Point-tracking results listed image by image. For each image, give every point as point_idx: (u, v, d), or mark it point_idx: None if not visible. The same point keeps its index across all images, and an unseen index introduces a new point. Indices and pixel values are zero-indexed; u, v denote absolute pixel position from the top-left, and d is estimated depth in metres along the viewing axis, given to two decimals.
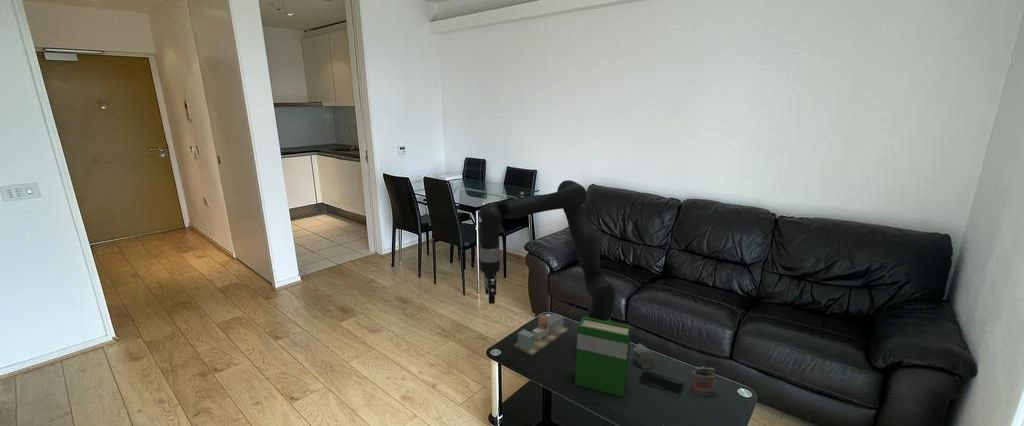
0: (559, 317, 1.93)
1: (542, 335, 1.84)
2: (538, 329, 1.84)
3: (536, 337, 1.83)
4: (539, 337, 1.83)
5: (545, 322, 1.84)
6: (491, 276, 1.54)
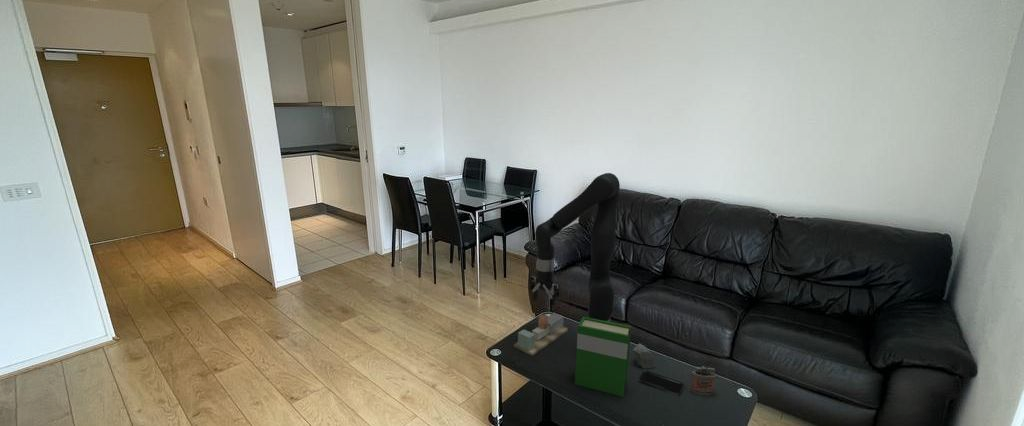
0: (559, 317, 1.93)
1: (542, 335, 1.84)
2: (538, 329, 1.84)
3: (536, 337, 1.83)
4: (539, 337, 1.83)
5: (545, 322, 1.84)
6: None
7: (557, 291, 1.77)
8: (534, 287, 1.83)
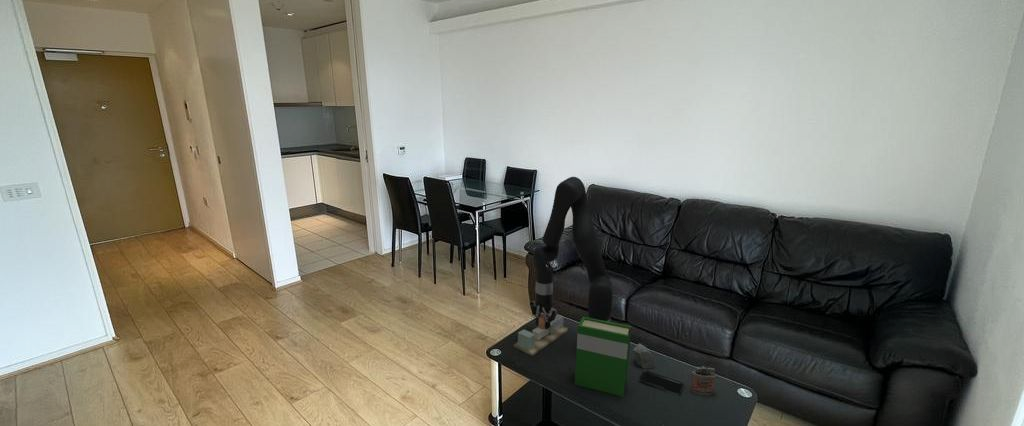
0: (559, 317, 1.93)
1: (542, 335, 1.84)
2: (538, 329, 1.84)
3: (536, 337, 1.83)
4: (539, 337, 1.83)
5: None
6: None
7: (554, 316, 1.81)
8: (536, 312, 1.85)
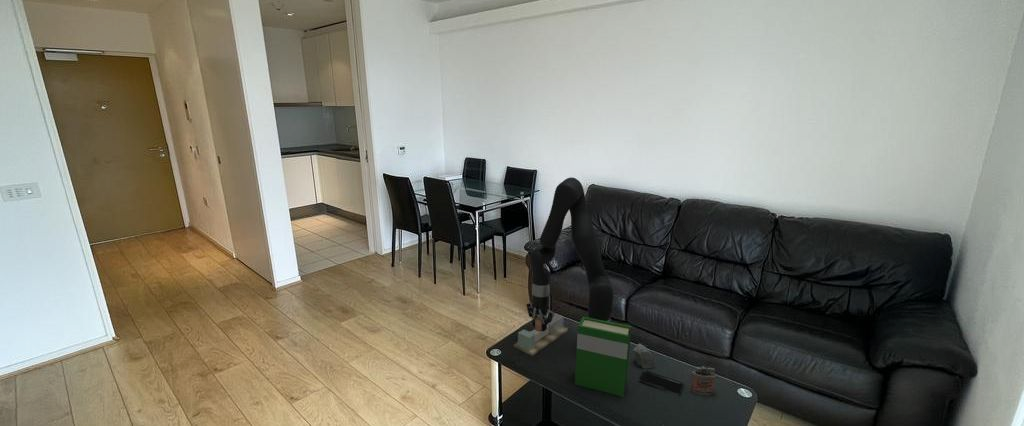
0: (559, 317, 1.93)
1: (539, 337, 1.82)
2: (535, 331, 1.83)
3: None
4: (536, 339, 1.81)
5: None
6: None
7: (550, 318, 1.79)
8: (532, 314, 1.84)
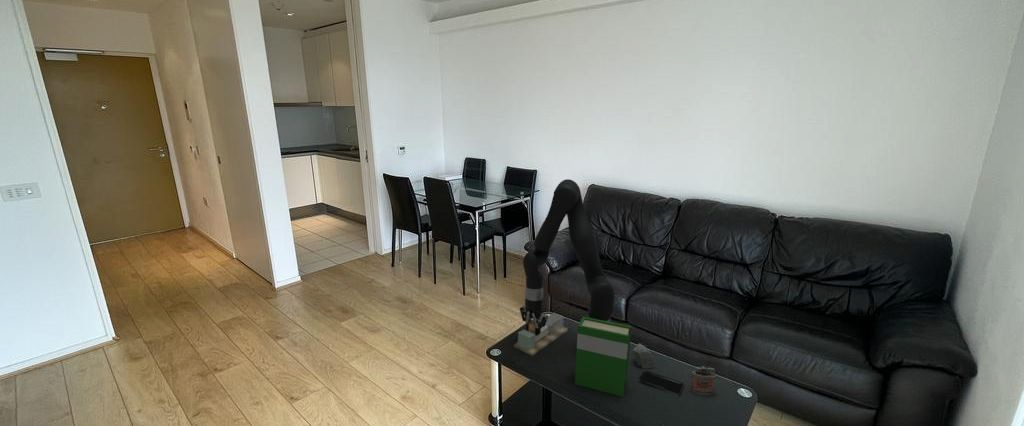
0: (559, 317, 1.93)
1: None
2: None
3: None
4: None
5: None
6: None
7: (544, 322, 1.76)
8: (525, 318, 1.80)
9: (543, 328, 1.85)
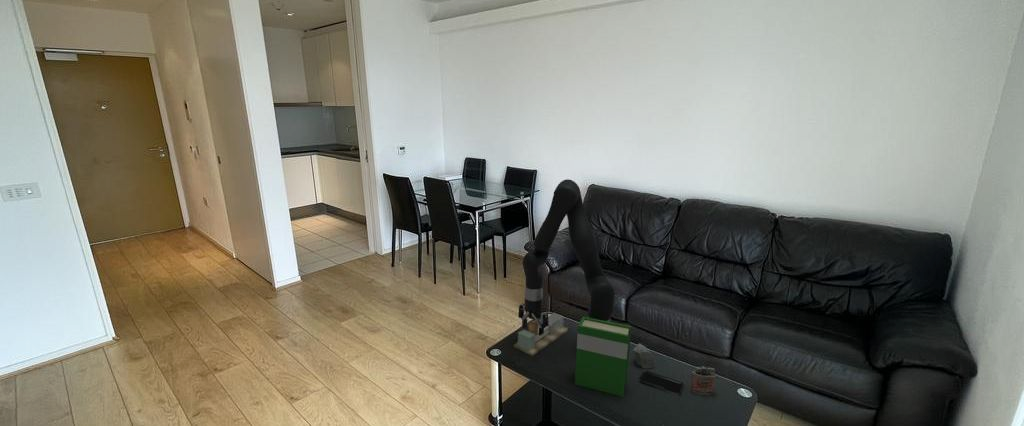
0: (559, 317, 1.93)
1: None
2: None
3: None
4: None
5: (535, 328, 1.79)
6: None
7: (546, 320, 1.75)
8: (523, 315, 1.80)
9: None
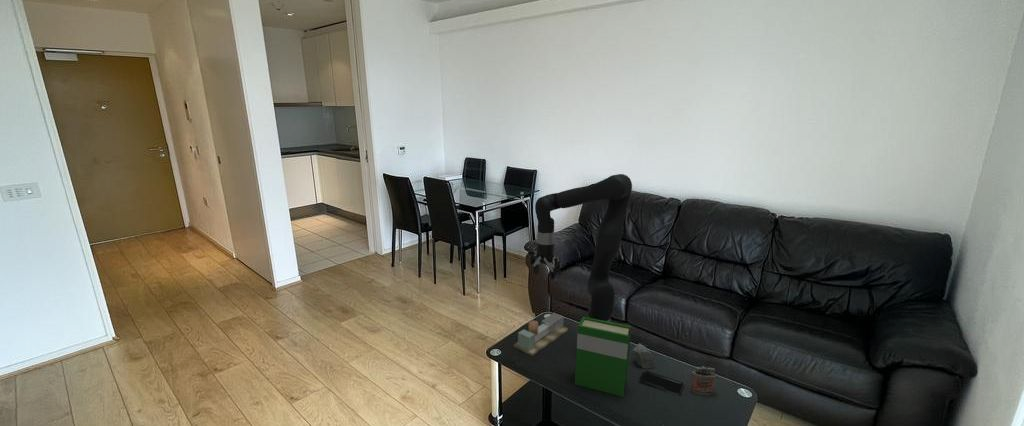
0: (559, 317, 1.93)
1: None
2: None
3: None
4: None
5: (535, 328, 1.79)
6: None
7: (558, 264, 1.79)
8: (535, 261, 1.85)
9: (543, 328, 1.85)
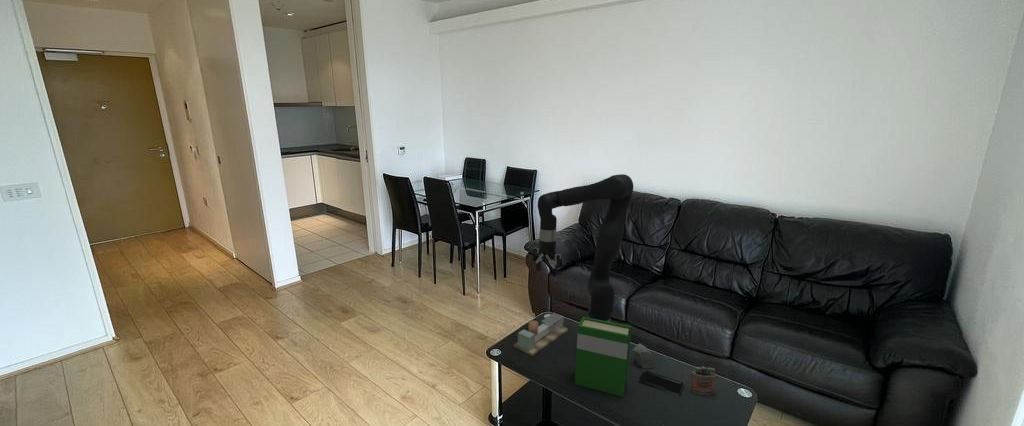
0: (559, 317, 1.93)
1: None
2: None
3: None
4: None
5: (535, 328, 1.79)
6: None
7: (560, 261, 1.81)
8: (537, 258, 1.87)
9: (543, 328, 1.85)
